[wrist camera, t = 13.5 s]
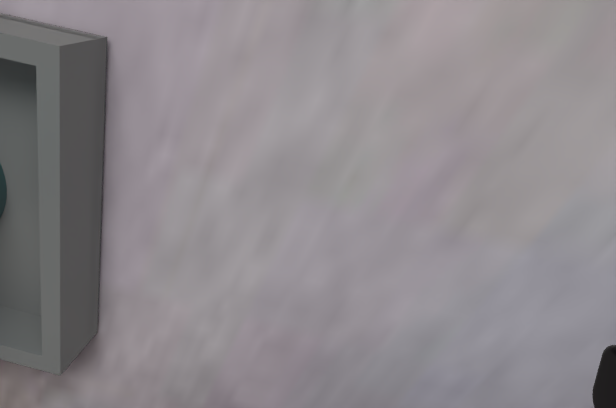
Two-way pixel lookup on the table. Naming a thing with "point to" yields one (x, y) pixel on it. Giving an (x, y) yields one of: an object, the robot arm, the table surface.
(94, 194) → the tray
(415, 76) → the table surface
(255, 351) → the table surface
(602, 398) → the robot arm
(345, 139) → the table surface
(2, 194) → the teal cylinder
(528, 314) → the table surface
